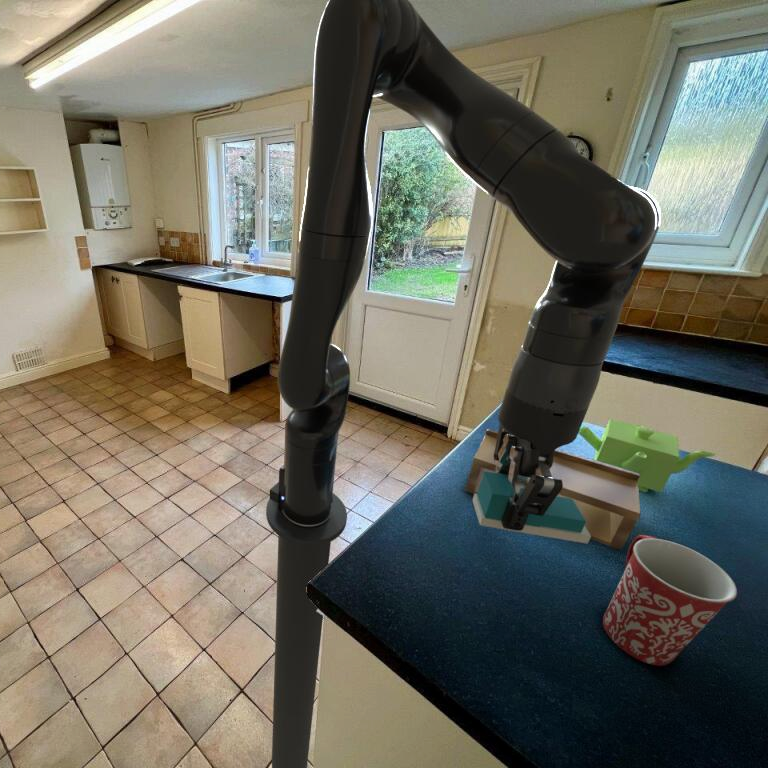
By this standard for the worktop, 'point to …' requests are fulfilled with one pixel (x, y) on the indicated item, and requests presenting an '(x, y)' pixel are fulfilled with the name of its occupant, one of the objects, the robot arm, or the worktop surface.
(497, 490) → the trainer
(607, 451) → the kettle
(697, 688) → the worktop surface
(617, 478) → the shoe shelf
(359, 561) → the worktop surface
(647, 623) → the mug
